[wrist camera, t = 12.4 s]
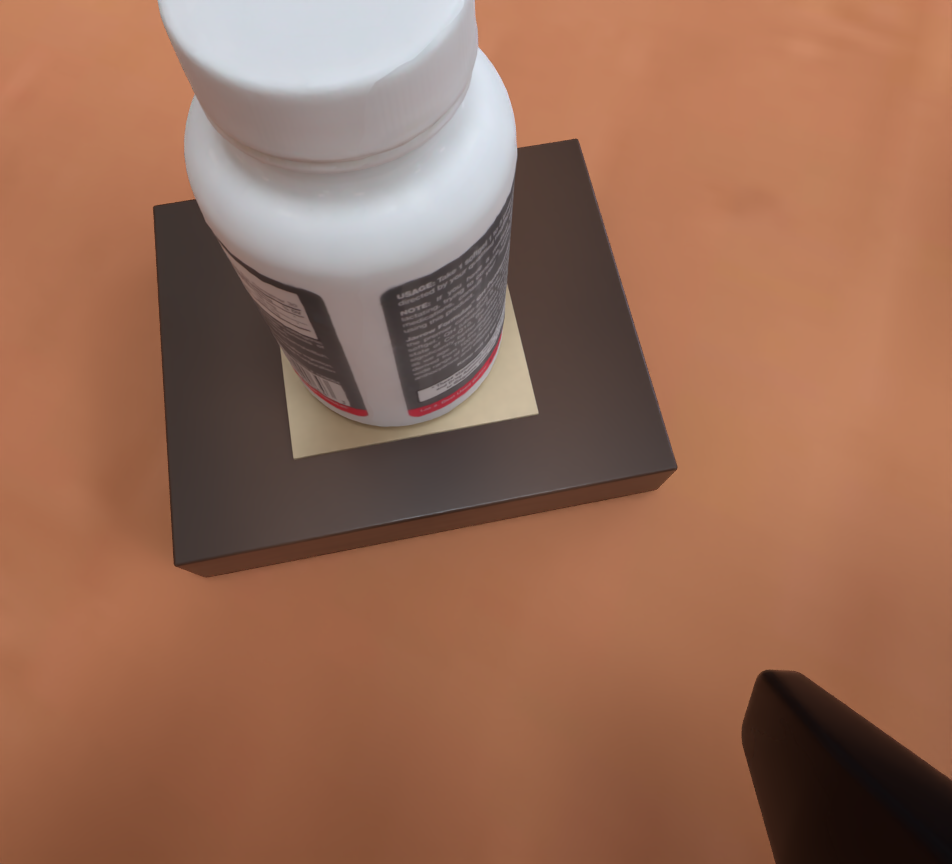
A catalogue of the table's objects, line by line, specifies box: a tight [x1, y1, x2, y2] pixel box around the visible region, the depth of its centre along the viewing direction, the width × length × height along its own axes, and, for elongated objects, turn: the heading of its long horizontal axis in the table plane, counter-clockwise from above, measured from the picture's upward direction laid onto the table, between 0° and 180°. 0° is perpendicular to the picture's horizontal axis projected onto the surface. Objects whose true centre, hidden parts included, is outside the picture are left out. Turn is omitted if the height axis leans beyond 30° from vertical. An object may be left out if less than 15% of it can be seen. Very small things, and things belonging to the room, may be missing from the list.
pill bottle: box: [158, 0, 517, 427], centre depth 13 cm, size 5×5×10 cm
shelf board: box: [153, 139, 677, 577], centre depth 19 cm, size 12×10×2 cm
